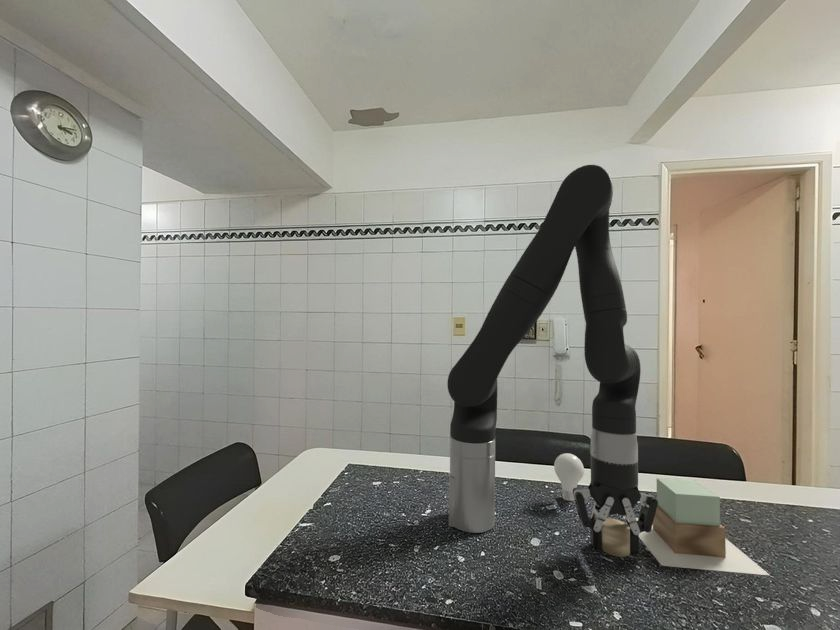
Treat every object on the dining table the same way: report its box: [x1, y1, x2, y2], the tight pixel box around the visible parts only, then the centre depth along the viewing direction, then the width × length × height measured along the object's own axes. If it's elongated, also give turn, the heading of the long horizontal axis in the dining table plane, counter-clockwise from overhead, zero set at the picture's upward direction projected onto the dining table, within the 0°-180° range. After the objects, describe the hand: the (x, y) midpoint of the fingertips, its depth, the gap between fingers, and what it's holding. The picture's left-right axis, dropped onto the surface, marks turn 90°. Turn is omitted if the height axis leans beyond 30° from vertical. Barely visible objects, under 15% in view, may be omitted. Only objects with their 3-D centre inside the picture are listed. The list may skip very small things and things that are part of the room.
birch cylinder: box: [600, 517, 631, 558], centre depth 66 cm, size 5×5×5 cm
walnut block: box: [653, 505, 726, 558], centre depth 69 cm, size 8×8×5 cm
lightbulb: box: [553, 452, 585, 502], centre depth 86 cm, size 6×6×11 cm
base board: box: [622, 516, 771, 576], centre depth 69 cm, size 16×16×1 cm
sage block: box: [656, 477, 721, 526], centre depth 69 cm, size 7×7×5 cm
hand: (614, 551), depth 66 cm, fingers closed on birch cylinder, 5 cm apart
